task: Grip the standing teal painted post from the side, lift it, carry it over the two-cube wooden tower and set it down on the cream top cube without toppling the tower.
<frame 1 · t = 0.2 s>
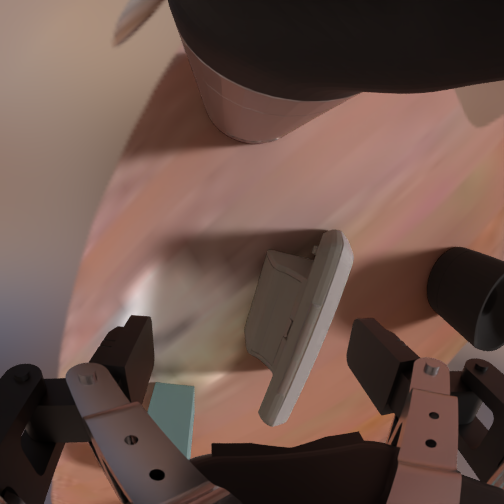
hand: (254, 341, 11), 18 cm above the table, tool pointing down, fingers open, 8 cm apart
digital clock: (294, 298, 31), on the table
pen holder: (450, 279, 32), on the table
teal post: (175, 398, 33), on the table
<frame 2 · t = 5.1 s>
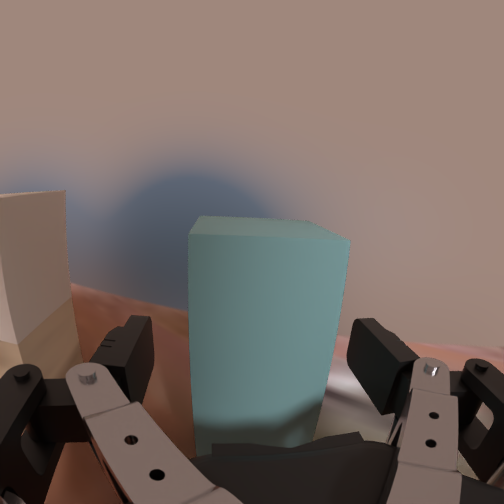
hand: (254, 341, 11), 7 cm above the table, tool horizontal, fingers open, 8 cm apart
cream cube: (6, 310, 12), point 6 cm above the table, touching maple cube
teal post: (246, 451, 13), on the table
maple cube: (33, 398, 13), on the table, touching cream cube
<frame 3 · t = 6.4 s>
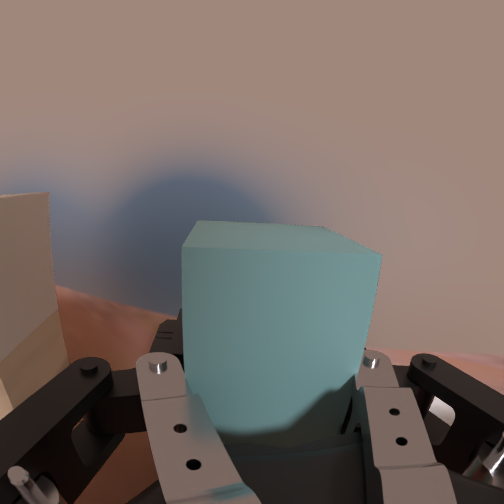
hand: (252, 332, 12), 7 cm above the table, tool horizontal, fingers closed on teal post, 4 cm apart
teal post: (250, 478, 11), on the table, touching gripper
maple cube: (21, 415, 12), on the table, touching cream cube
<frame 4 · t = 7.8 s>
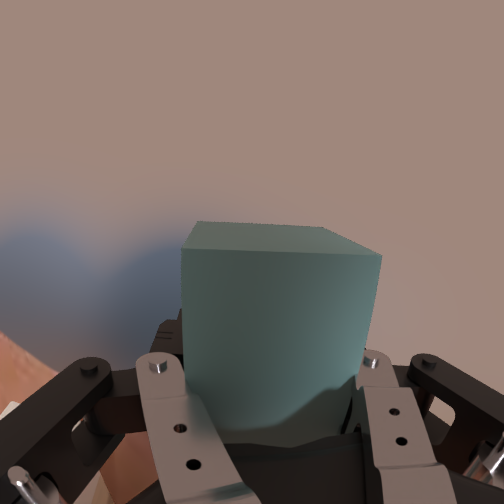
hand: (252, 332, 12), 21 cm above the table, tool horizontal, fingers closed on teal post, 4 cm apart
cream cube: (55, 490, 13), point 6 cm above the table, touching maple cube
teal post: (250, 478, 11), point 14 cm above the table, touching gripper
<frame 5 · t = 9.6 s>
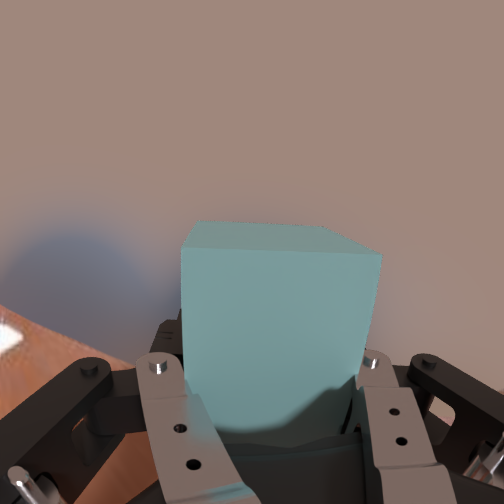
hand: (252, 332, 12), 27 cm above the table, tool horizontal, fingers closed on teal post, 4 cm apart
teal post: (250, 478, 11), point 20 cm above the table, touching gripper
when the fingers open (20 cm above the table, at t = 13.2 s): teal post drops 1 cm, resting on cream cube.
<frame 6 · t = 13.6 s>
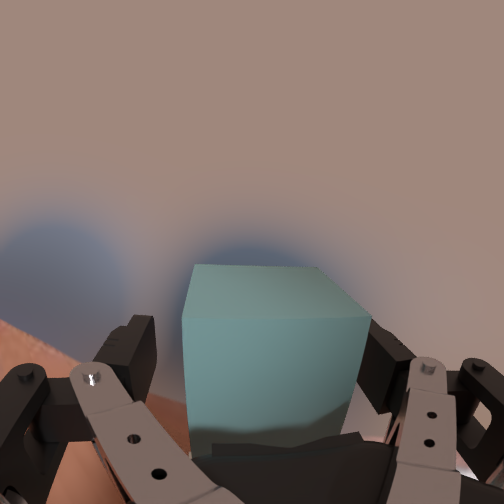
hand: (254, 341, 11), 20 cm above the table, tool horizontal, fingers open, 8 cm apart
teal post: (248, 494, 11), point 12 cm above the table, touching cream cube
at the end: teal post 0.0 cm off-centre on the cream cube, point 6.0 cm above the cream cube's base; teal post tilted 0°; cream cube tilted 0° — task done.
